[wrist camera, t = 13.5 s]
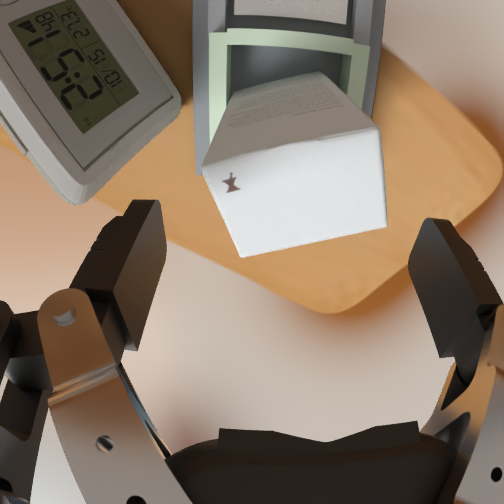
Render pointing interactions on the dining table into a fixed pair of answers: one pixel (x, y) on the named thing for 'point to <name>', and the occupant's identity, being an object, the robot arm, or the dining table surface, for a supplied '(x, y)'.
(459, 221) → the dining table surface
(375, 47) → the grey green docking tray
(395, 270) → the dining table surface
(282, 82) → the skincare box
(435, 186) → the dining table surface
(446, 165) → the dining table surface
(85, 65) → the digital clock
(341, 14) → the cradle plate
